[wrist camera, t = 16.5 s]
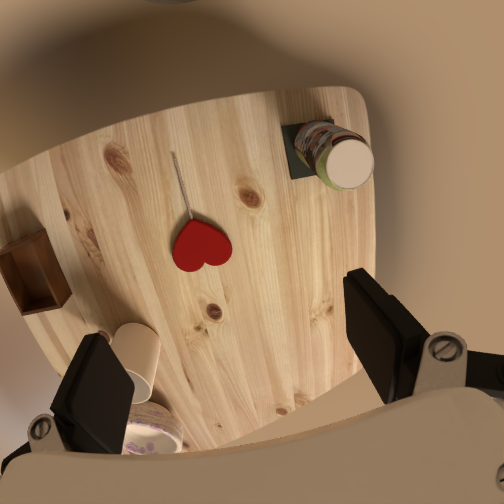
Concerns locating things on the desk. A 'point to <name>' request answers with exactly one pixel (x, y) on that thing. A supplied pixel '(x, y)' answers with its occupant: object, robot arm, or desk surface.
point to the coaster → (295, 163)
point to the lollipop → (199, 242)
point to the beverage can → (335, 154)
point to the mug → (138, 356)
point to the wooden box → (34, 274)
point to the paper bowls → (152, 430)
